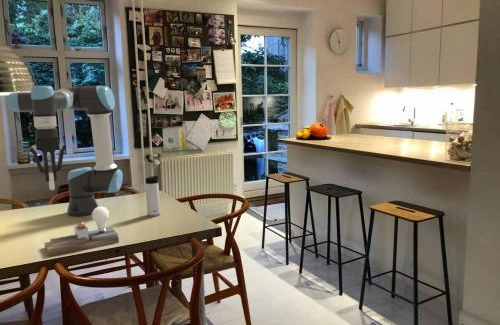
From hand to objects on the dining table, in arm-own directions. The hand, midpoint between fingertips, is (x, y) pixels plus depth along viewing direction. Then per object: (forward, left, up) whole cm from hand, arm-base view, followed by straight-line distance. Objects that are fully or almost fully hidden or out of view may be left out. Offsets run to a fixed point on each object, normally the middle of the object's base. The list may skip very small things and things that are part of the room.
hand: (52, 189), depth 157 cm
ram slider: (0, +9, -22) cm, 24 cm away
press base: (0, +9, -24) cm, 26 cm away
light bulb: (0, +17, -21) cm, 27 cm away
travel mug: (-23, +48, -25) cm, 59 cm away
